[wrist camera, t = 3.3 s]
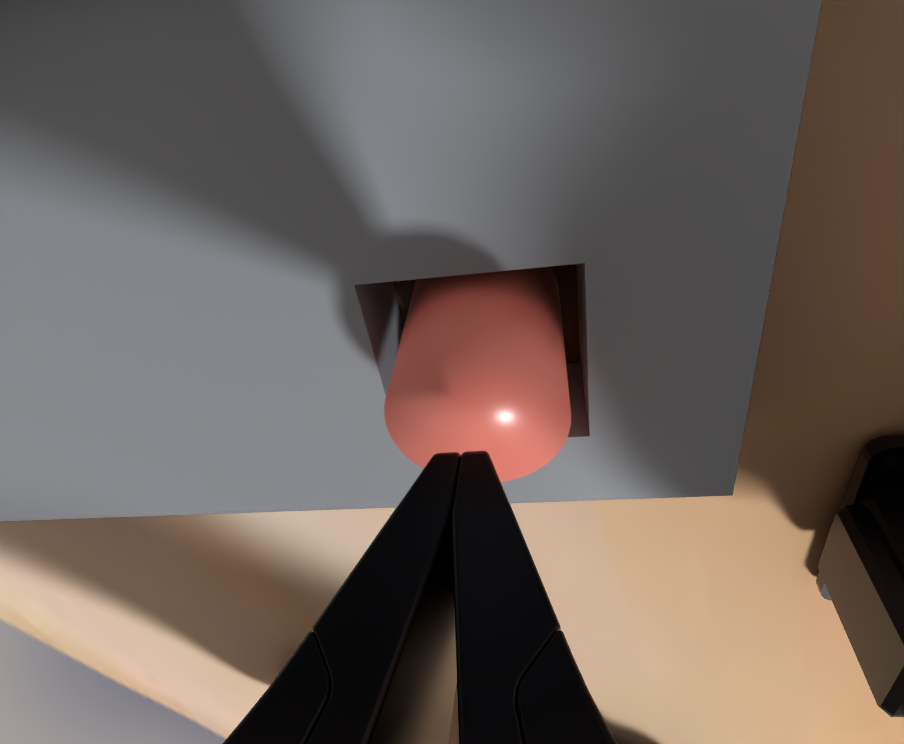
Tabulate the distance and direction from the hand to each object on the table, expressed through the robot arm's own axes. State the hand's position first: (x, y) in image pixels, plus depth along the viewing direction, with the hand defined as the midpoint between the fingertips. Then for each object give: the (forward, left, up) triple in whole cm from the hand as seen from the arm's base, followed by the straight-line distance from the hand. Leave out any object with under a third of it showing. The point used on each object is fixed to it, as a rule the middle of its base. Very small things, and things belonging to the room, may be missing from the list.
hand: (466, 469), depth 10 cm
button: (0, 0, -5) cm, 5 cm away
